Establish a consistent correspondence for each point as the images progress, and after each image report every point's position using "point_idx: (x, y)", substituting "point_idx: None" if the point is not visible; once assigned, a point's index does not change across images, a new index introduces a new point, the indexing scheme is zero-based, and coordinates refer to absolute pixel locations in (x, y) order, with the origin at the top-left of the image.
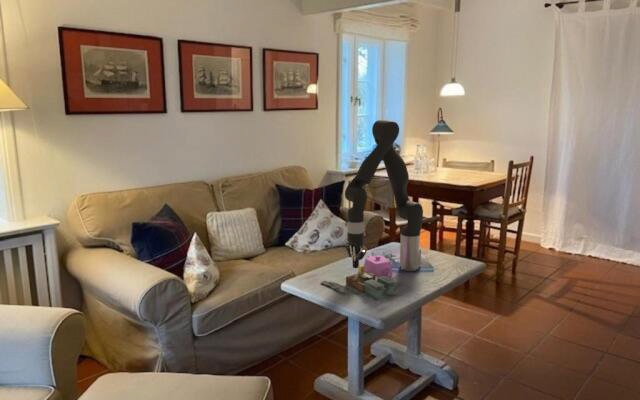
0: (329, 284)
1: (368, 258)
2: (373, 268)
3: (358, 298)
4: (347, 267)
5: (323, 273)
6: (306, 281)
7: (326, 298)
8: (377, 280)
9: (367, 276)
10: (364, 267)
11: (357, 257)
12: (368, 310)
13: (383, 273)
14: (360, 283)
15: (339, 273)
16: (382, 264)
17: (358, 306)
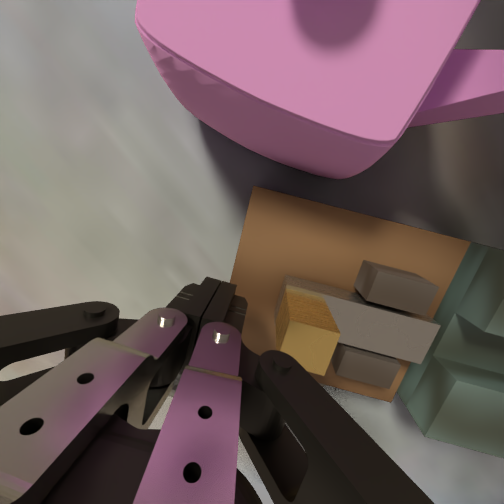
0: (171, 390)
1: (183, 20)
2: (338, 160)
3: (378, 412)
4: (20, 77)
5: (17, 267)
6: None
7: (257, 476)
8: (470, 320)
9: (391, 349)
10: (335, 324)
11: (265, 465)
12: (486, 480)
13: (420, 121)
14: (362, 392)
15: (73, 208)
16: (447, 55)
17: (424, 471)
